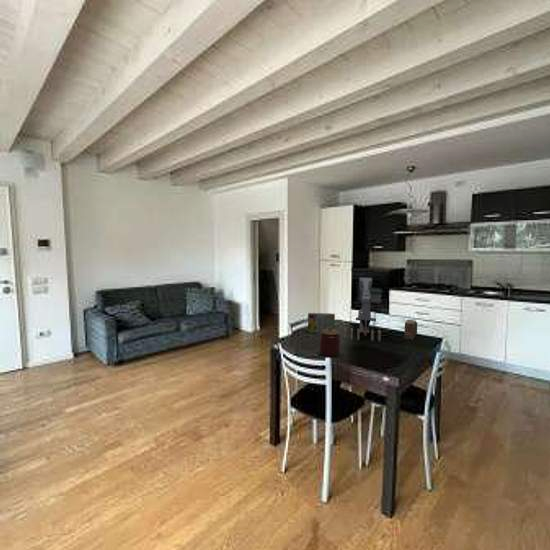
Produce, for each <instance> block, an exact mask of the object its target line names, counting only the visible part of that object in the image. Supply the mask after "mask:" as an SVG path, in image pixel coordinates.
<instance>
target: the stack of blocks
mask: <svg viewBox="0 0 550 550" xmlns="http://www.w3.org/2000/svg"><path fill="white" fill-rule="evenodd" d="M417 334H418V322H417V320H415V319H414V320H413V319H407V320H406V321H405V322H404V335H403V336H404V337H403V338H404V339H405V338H406V340H412V339H413V340H414V338H415V337H416V335H417Z"/></svg>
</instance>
